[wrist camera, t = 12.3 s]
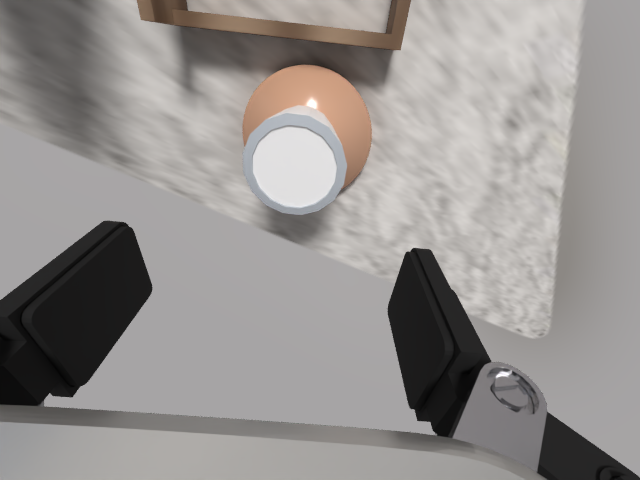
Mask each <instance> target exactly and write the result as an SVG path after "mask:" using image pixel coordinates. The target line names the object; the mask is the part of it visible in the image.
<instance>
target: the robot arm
mask: <svg viewBox="0 0 640 480" xmlns="http://www.w3.org/2000/svg"><path fill="white" fill-rule="evenodd" d="M151 292H152V284H151V281H150V278H149V275H148V272H147V269H146V266H145V263H144V260H143V257H142V254H141V251H140V248H139V245H138V242H137V239H136V236H135V233H134V231H133V229H132V228H131V227H129V226H128V225H127V224H126V223H124V222H116V221H115V222H114V221H103V222H102V223H100V224H99V225H98V226H96V227H95V228H94V229H92V230H91V231H90V232H88V233H87V234H86V235H85V236H83V237H82V238H81V239H79V240H78V241H77V242H75V243H74V244H73V245H72V246H70V247H69V248H68V249H67V250H65V251H64V252H63V253H61V254H60V255H59V256H57V257H56V258H55V259H53V260H52V261H51V262H50V263H48V264H47V265H46V266H44V267H43V268H42V269H40V270H39V271H38V272H36V273H35V274H34V275H33V276H31V277H30V278H29V279H27V280H26V281H25V282H23V283H22V284H21V285H20V286H18V287H17V288H16V289H14V290H13V291H12V292H10V293H9V294H8V295H7V296H5V297H4V298H3V299H1V300H0V480H640V478H639V477H638V476H637V475H636V474H635V473H633V472H632V471H631V470H629V469H627V468H626V467H625V466H623V465H622V464H621V463H619V462H618V461H616V460H615V459H614V458H612V457H611V456H609V455H608V454H606V453H605V452H604V451H602V450H601V449H599V448H598V447H596V446H595V445H594V444H592V443H591V442H589V441H588V440H587V439H585V438H584V437H582V436H581V435H579V434H578V433H577V432H575V431H574V430H572V429H571V428H570V427H568V426H567V425H565V424H564V423H562V422H561V421H559V420H558V419H557V418H555V417H554V416H552V415H551V414H550V413H548V412H547V403H546V401H545V398H544V396H543V393H542V392H541V391H540V389H539V388H538V387H537V385H536V384H535V383H534V382H533V381H532V380H531V379H530V378H529V377H528V376H527V375H526V374H524V373H523V372H521V371H520V370H518V369H517V368H515V367H513V366H511V365H508V364H505V363H501V362H491V360H490V358H489V356H488V354H487V352H486V350H485V348H484V347H483V345H482V343H481V341H480V339H479V337H478V335H477V333H476V331H475V329H474V327H473V325H472V324H471V322H470V320H469V318H468V316H467V314H466V312H465V310H464V308H463V306H462V304H461V302H460V301H459V299H458V297H457V295H456V293H455V292H454V291H453V290H452V289H451V288H450V286H449V284H448V282H447V280H446V278H445V276H444V274H443V272H442V270H441V268H440V267H439V265H438V263H437V261H436V259H435V257H434V255H433V253H432V251H431V250H429V249H419V248H413V249H412V250H411V252H406V254H405V256H404V259H403V262H402V265H401V268H400V271H399V274H398V277H397V280H396V283H395V286H394V289H393V292H392V295H391V299H390V301H389V304H388V317H389V321H390V325H391V330H392V334H393V338H394V343H395V347H396V352H397V356H398V361H399V365H400V369H401V373H402V378H403V383H404V387H405V391H406V395H407V400H408V404H409V406H410V408H411V409H415V413H416V417H417V421H427V422H431V426H432V429H433V431H434V432H435V435H427V434H420V433H410V432H400V431H389V430H377V429H366V428H356V427H342V426H328V425H314V424H299V423H286V422H272V421H259V420H244V419H229V418H213V417H199V416H184V415H170V414H154V413H153V414H152V413H139V412H123V411H107V410H91V409H90V410H89V409H74V408H59V407H44V399H45V398H46V397H47V396H48V394H49V393H51V394H52V396H60V397H73V395H74V394H75V393H76V392H77V390H78V389H79V387H80V386H83V385H85V384H86V383H87V382H88V380H90V378H91V377H92V375H93V374H94V372H95V371H96V370H97V368H98V367H99V366H100V364H101V363H102V362H103V360H104V359H105V357H106V356H107V355H108V353H109V352H110V350H111V349H112V347H113V346H114V345H115V343H116V342H117V341H118V339H119V338H120V337H121V335H122V334H123V332H124V331H125V330H126V328H127V327H128V325H129V324H130V323H131V321H132V320H133V318H134V317H135V316H136V314H137V313H138V312H139V310H140V309H141V307H142V306H143V305H144V303H145V302H146V300H147V299H148V297H149V296H150V294H151Z"/></svg>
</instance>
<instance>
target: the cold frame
mask: <svg viewBox="0 0 640 480" xmlns="http://www.w3.org/2000/svg"><path fill="white" fill-rule="evenodd" d="M410 2H411V0H392V2H391V7H390V13H389V18H388V24H387V29H386V34H385V33H376V32H368V31H359V30H350V29H341V28H333V27H324V26H315V25H306V24H298V23H289V22H280V21H271V20H263V19H254V18H245V17H236V16H228V15H219V14H210V13H201V12H193V11H188V10H187V3H186V0H137V3H138V8H139V13H140V17H141V20H144V21H151V22H157V23H164V24H170V25H177V26H185V27H194V28H202V29H211V30H220V31H229V32H238V33H247V34H256V35H265V36H273V37H282V38H291V39H300V40H309V41H318V42H327V43H336V44H344V45H353V46H362V47H371V48H380V49H389V50H401V45H402V40H403V36H404V31H405V26H406V21H407V17H408V12H409V7H410Z"/></svg>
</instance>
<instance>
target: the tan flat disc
mask: <svg viewBox="0 0 640 480" xmlns="http://www.w3.org/2000/svg"><path fill="white" fill-rule="evenodd" d="M297 105H302V106H310V107H313V108H315V109H316V110H318V111H320V112H321V113H323V114H324V115H325V116H326V118H327V119H328V120H329V122H330V123H331V124H332V126H333V128H334V130H335V132H336V134H337V136H338V138H339V140H340V142H341V144H342V146H343V150H344V155H345V159H346V163H347V169H346V175H345V181H344V185H343V187H342V188H341V190H342V189H343V188H345V187H346V186H347V185H348V184H350V183H351V182H352V181H353V180H354V179H355V178H356V177H357V175H358V174H359V173H360V171H361V170H362V168H363V166H364V164H365V162H366V160H367V157H368V155H369V151H370V147H371V139H372V129H371V121H370V117H369V113H368V110H367V108H366V105H365V103H364V101H363V100H362V98H361V96H360V94H359V93H358V92H357V90H356V89H355V88H354V87H353V85H352V84H351V83H350V82H349V81H347V80H346V79H345V78H344V77H342V76H341V75H340V74H338V73H336V72H334V71H332V70H331V69H328V68H325V67H322V66H317V65H307V64H302V65H294V66H291V67H287V68H284V69H282V70H280V71H278V72H275V73H274V74H272V75H271V76H269V77H268V78H267V79H265V80H264V81H263V82H262V83H261V84H260V85H259V86H258V88H257V89H256V90H255V91H254V93H253V95H252V96H251V98H250V100H249V102H248V105H247V107H246V110H245V114H244V119H243V140H244V145H245V146H246V143H247V141H248V138H249V136H250V134H251V133H252V132H253V131H254V130H255V129H256V128H257V127H258V126H259V125H260V124H261V123H262V122H264V121H265V120H266V119H268V118H270V117H272V116H273V115H275V114H277V113H279V112H281V111H283V110H285V109H288V108H291V107H294V106H297Z"/></svg>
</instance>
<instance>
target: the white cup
mask: <svg viewBox="0 0 640 480" xmlns="http://www.w3.org/2000/svg"><path fill="white" fill-rule="evenodd" d="M346 169H347V163H346V159H345V155H344V150H343V146H342V144H341V142H340V140H339V138H338V136H337V134H336V132H335V130H334V128H333V126H332V124H331V123H330V122H329V120H328V119H327V118H326V116H325V115H324V114H323V113H321V112H320V111H318V110H316V109H315V108H313V107H310V106H302V105H297V106H294V107H291V108H288V109H285V110H283V111H281V112H279V113H277V114H275V115H273V116H272V117H270V118H268V119H266V120H265V121H264V122H262V123H261V124H260V125H259V126H258V127H257V128H256V129H255V130H254V131H253V132H252V133H251V134H250V136H249V138H248V141H247V143H246V146H245V148H244V151H243V173H244V175H245V178H246V180H247V182H248V184H249V186H250V188H251V191H252V192H253V193H254V194H255V195H256V196H257V197H258V198H259V199H260V200H261V201H262V202H263V203H264V204H265V205H267V206H269V207H271V208H273V209H275V210H277V211H279V212H281V213H286V214H296V215H304V214H308V213H312V212H316V211H319V210H321V209H322V208H324V207H325V206H326V205H328V204H329V203H331V202H332V201H334V199H335V198H336V196H337V195H338V193H339V191H340V190H341V188H342V187H343V185H344V181H345V175H346Z"/></svg>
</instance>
